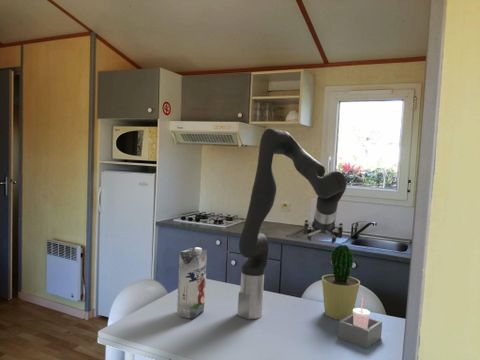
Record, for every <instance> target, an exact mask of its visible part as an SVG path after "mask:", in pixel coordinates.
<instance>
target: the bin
mask: <svg viewBox="0 0 480 360" xmlns="http://www.w3.org/2000/svg"><path fill="white" fill-rule="evenodd" d="M337 330H338V332H337V333H338V334H337V338H339V339H341V340H344V341H346V342H350V343H351V344H353V345H357V346H359V347H362V348H365V349H368V348H370V347H371V346H372V345H373V344H375V343H376V342H377V341H379V340H380V339H382V331H383V321H381V320H378V319H374V318H371V317H369V320H368V328H367V329H364V328H361V327H358V326H355V325H353V314H351V315H349V316H348V317H346V318H344V319H342V320H339V321H338V329H337Z"/></svg>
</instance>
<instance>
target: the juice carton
mask: <svg viewBox="0 0 480 360" xmlns="http://www.w3.org/2000/svg"><path fill="white" fill-rule="evenodd" d="M207 258H208V250H207V249H203V248H202V247H201V246H200V247H197V246H196V247H189V248H188V249H186V250H181V251H180V252H179V262H178V263H179V264H178V265H179V266H178V282H177V283H178V284H177V285H178V286H177V303H176V305H177V307H176V308H177V311H176V312H177V316H178V317H181V318H186V319H190V320H194V319H195V318H197V317H198V316H199V315H201V314H203V312H204V310H205V302H206V301H205V299H206V286H207V285H206V283H207V262H208V261H207Z"/></svg>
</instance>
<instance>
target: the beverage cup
mask: <svg viewBox="0 0 480 360" xmlns="http://www.w3.org/2000/svg"><path fill="white" fill-rule="evenodd" d="M363 303H364V297H361V305H360V306H361V307H354V309H353V325H355V326H358V327H361V328H364V329H367V328H368V320H369V318H370V317H371V316H370V315H371V311H370V310H368V309H366V308H363V306H364V305H363Z"/></svg>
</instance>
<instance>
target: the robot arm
mask: <svg viewBox="0 0 480 360" xmlns="http://www.w3.org/2000/svg"><path fill="white" fill-rule="evenodd" d="M274 155H283V156H285V157H287V158H289V159H290V160H291V161H292V164H293V166H294V168H295V169H296V171H297V172H298V173H299V174H300V175H301V176H302V177H304V178H305V179H306V180H307V181H308V183H309V185H311V187H312V188H313V191H314V192H315V194H316V195H317V199H316V206H315V209H314V214H313V216H314V217H313V221H312V222H311V221H310V222H309V220H308V219H305V220H304V223H303V230H302V231H303V232H302V234H303V235H307V237H306V238H307V240H308V241H310V242H311V241H312V235H316V234H317V233H319V234H328V235H329V237H331V244H334V243H335V242H336V240H337V238H338V239H342V237H343V230H344V229H343V225H344V224H343V223H341V222H340V223H339V224H336V218H337V213H338V205H339V201H340V200H341V199H342V197H343V195H344V193H345V192H346V189H347V184H348V182H347V178H346V176H345V174H344V173H343V172H341V171H340V170H332V171H330V172H328V173H327V174H326V168H325V166H324V165H323V164H322V163H321V162H320V161H318V160H317V159H315V158H314V157H313V156H312V155H310V154H309V153H308V152H307V151H306V150H305V149H304V148H303V147H302V146H301V145H300V144H299V143H298V141H296V140H295V139H294V137H293V136H292V135H291V134H290V133H289V132H288V131H286V130H281V129H275V128H267V129H265V130H264V131H263V132H262V135H261V138H260V142H259V150H258V159H257V166H256V171H255V177H254V182H253V184H252V185H253V186H252V188H251V194H250V200H249V205H248V210H247V214H246V217H245V222H244V225H243V227H242V231H241V234H240V237H239V240H238V241H239V242H238V249H239V253H240V254H241V256H242V257H244V258H246V259H247V260H246V261H245V262H244V263H243V264H242V265H241V271H240V272H241V273H240V274H241V275H240V291H239V292H238V298H237V299H238V303H237V316H239V317H240V318H244V319H246V320H256V319H260V318H261V317H262V316H263V301H264V283H265V272H266V271H265V270H266V268H267V265H268V256H269V241H268V237H267V236H266V235H265V234H264V233H263V232H260V229H261V227H262V224H263V222H264V221H265V219H266V218H267V216H268V215H269V213H270V212H271V210H272V208H273V206H274V203H275V198H276V195H277V183H276V179H275V175H274V173H273V167H272V166H273V159H274ZM336 230H337V231H336Z"/></svg>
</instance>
